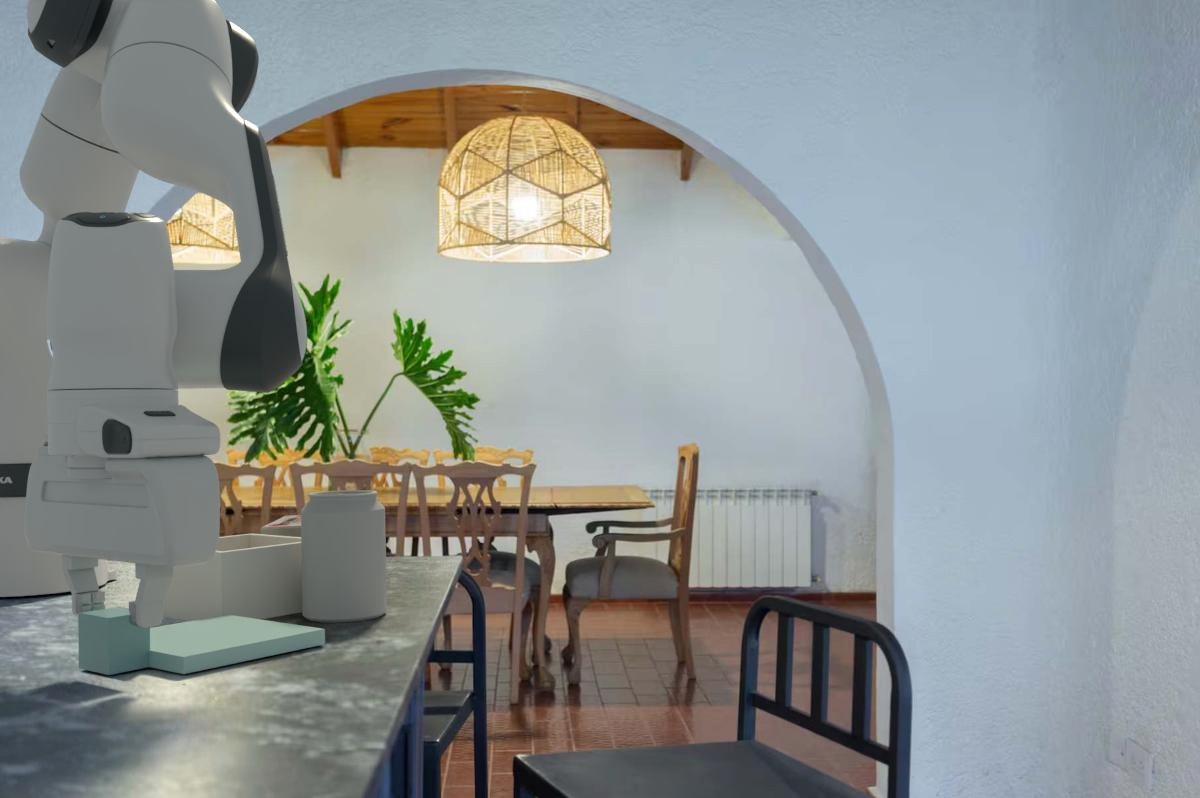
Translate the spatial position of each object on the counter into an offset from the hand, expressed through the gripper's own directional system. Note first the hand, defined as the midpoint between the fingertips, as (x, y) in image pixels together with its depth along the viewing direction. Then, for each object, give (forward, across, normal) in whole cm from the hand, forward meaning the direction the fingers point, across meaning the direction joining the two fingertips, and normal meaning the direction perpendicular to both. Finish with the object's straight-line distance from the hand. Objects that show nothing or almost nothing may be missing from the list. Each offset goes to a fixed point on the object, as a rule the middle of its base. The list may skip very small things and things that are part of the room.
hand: (116, 620), depth 85 cm
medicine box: (+4, -22, +35) cm, 42 cm away
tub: (+4, -14, +21) cm, 26 cm away
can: (+4, -4, +24) cm, 25 cm away
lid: (+4, 0, +6) cm, 7 cm away
